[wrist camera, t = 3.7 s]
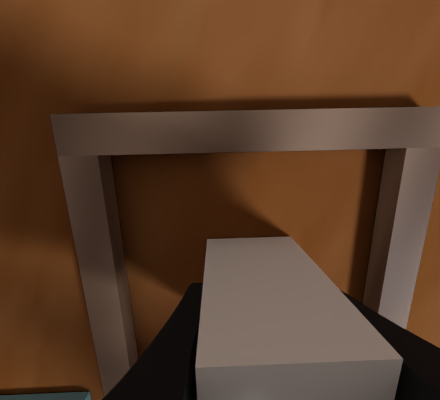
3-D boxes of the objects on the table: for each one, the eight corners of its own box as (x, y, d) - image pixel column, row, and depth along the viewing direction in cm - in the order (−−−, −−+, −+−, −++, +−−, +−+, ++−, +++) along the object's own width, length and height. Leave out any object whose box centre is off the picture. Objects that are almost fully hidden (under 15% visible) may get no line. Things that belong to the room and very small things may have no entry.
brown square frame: (426, 111, 9) (453, 106, 8) (375, 385, 12) (389, 405, 11) (69, 118, 8) (49, 113, 7) (117, 397, 12) (108, 419, 11)
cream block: (290, 236, 10) (403, 359, 4) (286, 307, 11) (373, 495, 5) (207, 238, 10) (195, 367, 4) (209, 311, 11) (204, 505, 5)
